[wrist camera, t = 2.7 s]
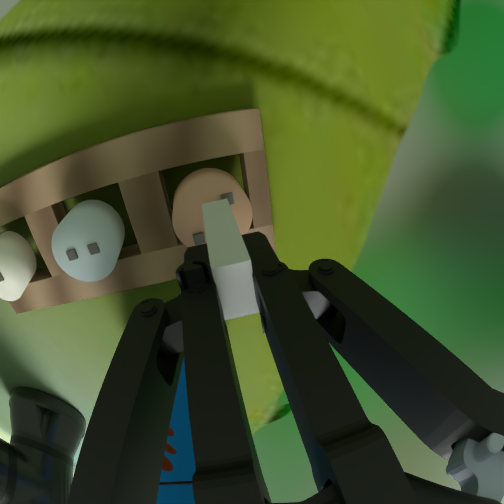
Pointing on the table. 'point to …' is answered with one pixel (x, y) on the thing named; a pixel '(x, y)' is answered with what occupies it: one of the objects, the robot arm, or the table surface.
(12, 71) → the table surface
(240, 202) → the button three
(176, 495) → the thermos
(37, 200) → the board
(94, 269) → the button two
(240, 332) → the table surface
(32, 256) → the button one
